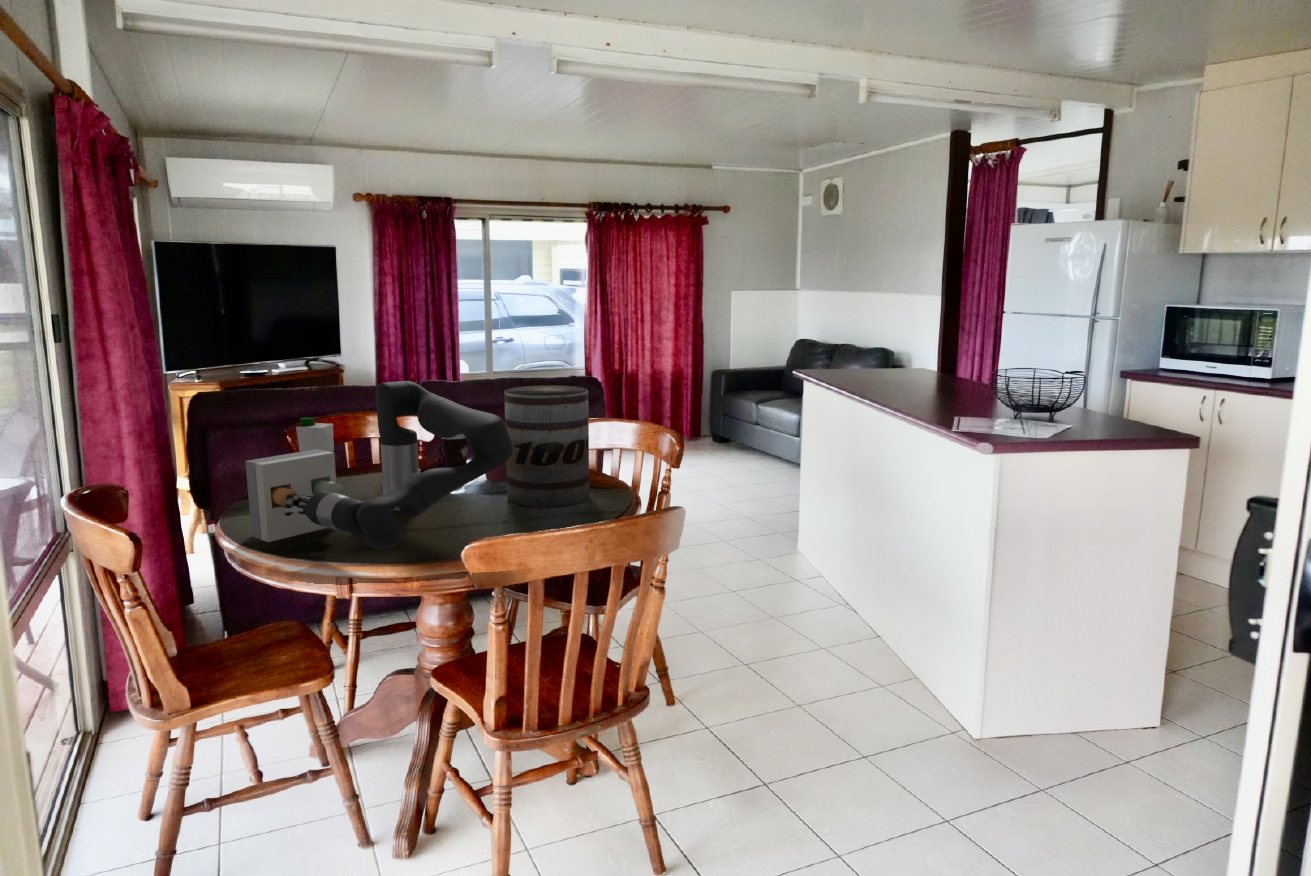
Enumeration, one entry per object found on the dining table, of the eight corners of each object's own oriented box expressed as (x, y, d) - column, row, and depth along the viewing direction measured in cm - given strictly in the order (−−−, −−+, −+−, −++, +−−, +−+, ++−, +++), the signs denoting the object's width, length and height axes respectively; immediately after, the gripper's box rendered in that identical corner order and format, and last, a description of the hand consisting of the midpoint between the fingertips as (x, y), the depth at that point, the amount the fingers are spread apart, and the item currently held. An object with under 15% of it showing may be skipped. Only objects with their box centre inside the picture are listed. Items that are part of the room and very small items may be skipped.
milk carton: (310, 482, 253) (305, 415, 249) (340, 482, 252) (336, 416, 249) (297, 489, 244) (292, 420, 241) (328, 489, 244) (323, 420, 240)
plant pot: (470, 477, 260) (469, 436, 258) (513, 472, 267) (512, 432, 265) (488, 486, 248) (487, 443, 246) (532, 480, 256) (531, 439, 253)
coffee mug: (462, 463, 280) (461, 433, 279) (474, 467, 274) (473, 437, 272) (429, 467, 273) (427, 437, 271) (441, 472, 267) (439, 441, 265)
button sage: (344, 498, 201) (343, 482, 200) (329, 501, 198) (327, 485, 197) (329, 494, 205) (328, 478, 204) (314, 497, 202) (313, 481, 201)
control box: (338, 524, 208) (334, 452, 205) (268, 542, 194) (262, 464, 191) (322, 519, 212) (317, 449, 209) (251, 536, 198) (245, 460, 195)
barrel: (546, 513, 219) (543, 397, 214) (490, 499, 234) (486, 390, 228) (606, 497, 236) (605, 389, 231) (550, 484, 251) (548, 383, 245)
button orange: (297, 504, 195) (296, 488, 194) (281, 508, 192) (280, 491, 191) (283, 501, 199) (282, 484, 198) (267, 504, 196) (266, 487, 195)
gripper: (359, 488, 187) (315, 477, 197) (303, 499, 177) (260, 487, 187) (361, 520, 189) (317, 508, 199) (306, 534, 178) (263, 520, 188)
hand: (289, 498), depth 193 cm, fingers closed
